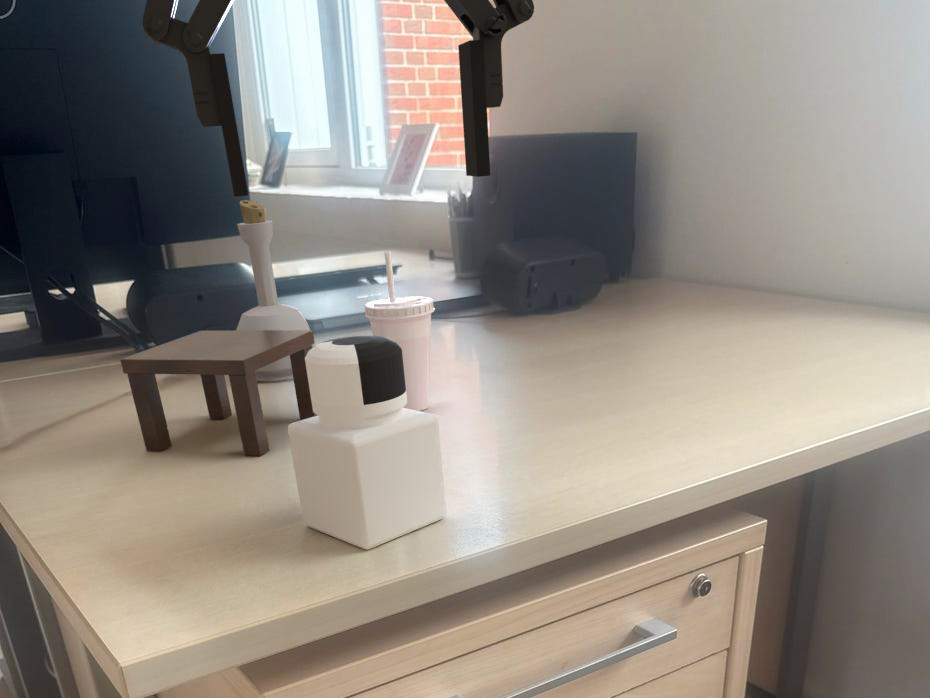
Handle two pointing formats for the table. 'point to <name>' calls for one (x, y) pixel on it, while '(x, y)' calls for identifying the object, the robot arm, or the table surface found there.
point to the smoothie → (406, 336)
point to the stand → (219, 378)
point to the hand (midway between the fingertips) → (362, 186)
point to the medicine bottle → (365, 446)
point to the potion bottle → (266, 290)
